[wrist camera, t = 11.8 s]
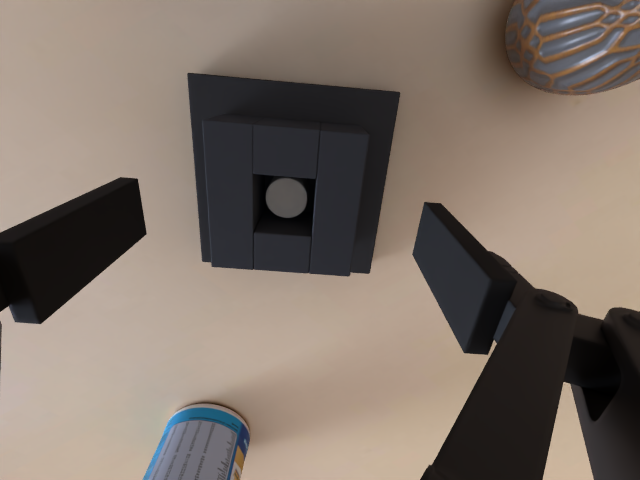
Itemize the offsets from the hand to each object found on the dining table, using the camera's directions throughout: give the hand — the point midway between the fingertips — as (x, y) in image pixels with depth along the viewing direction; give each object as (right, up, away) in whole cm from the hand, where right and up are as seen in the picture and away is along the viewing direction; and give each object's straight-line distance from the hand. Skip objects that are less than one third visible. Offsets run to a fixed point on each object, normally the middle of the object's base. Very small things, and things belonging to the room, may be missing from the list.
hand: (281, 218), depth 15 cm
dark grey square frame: (0, +2, +6) cm, 6 cm away
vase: (+15, +11, +3) cm, 19 cm away
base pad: (0, +3, +7) cm, 8 cm away
